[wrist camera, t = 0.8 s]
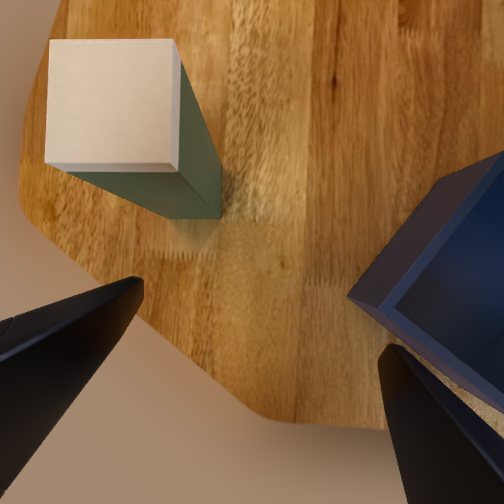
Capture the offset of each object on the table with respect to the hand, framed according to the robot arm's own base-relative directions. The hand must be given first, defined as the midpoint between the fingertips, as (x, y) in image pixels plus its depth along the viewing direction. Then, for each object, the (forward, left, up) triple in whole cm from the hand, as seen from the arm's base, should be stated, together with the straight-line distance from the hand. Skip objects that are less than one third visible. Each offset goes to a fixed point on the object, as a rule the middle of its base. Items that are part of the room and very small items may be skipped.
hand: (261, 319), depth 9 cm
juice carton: (+3, +10, -13) cm, 17 cm away
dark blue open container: (+11, -13, -13) cm, 22 cm away
